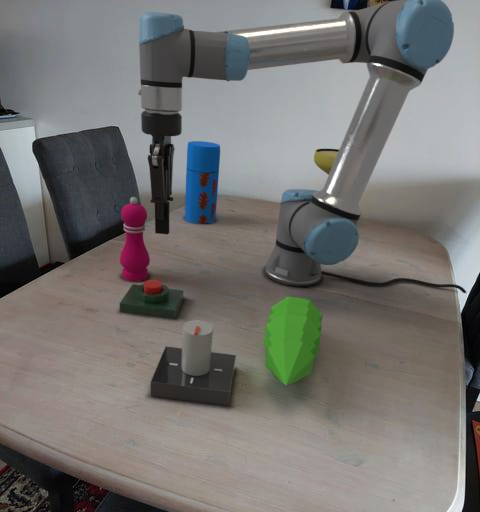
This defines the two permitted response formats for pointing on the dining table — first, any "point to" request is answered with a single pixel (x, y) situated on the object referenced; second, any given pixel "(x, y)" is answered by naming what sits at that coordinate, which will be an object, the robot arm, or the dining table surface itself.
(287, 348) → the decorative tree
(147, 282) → the button
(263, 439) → the dining table surface
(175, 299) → the button box
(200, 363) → the knob
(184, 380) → the panel
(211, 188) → the thermos
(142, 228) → the pepper mill
